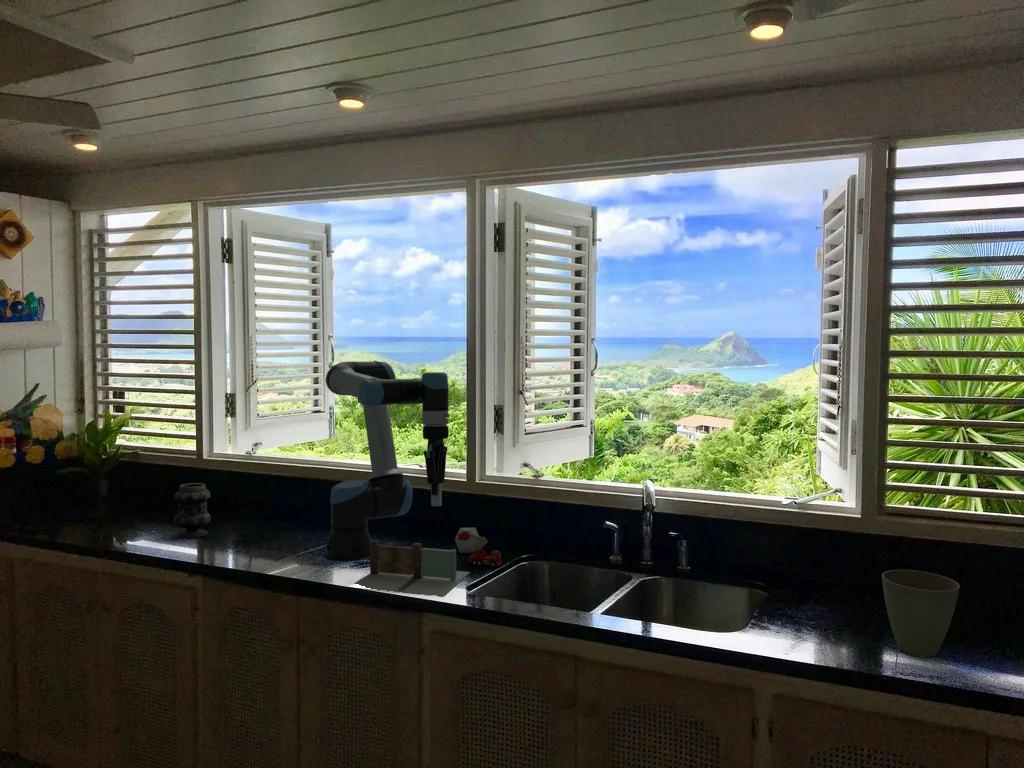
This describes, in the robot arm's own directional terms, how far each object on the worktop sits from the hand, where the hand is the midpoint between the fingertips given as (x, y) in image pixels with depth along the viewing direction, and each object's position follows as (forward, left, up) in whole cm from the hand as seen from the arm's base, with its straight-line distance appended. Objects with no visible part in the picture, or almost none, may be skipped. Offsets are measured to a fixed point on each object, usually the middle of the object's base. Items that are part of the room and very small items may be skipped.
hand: (436, 505), depth 214 cm
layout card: (-5, -6, -21) cm, 22 cm away
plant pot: (+122, -23, -21) cm, 126 cm away
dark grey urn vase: (-101, +22, -21) cm, 106 cm away
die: (+1, +27, -21) cm, 34 cm away
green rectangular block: (+2, -4, -20) cm, 21 cm away
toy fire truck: (+9, +15, -21) cm, 27 cm away
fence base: (-11, -4, -21) cm, 24 cm away
